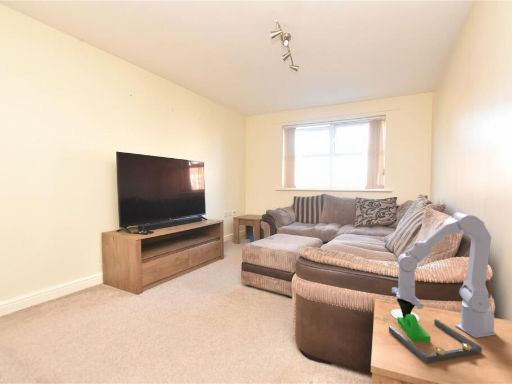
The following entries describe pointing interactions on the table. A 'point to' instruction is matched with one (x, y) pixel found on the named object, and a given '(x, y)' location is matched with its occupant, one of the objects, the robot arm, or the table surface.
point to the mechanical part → (413, 328)
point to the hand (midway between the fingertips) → (406, 317)
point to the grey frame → (440, 354)
